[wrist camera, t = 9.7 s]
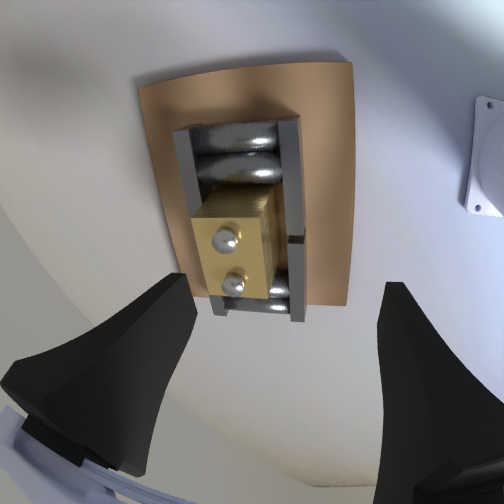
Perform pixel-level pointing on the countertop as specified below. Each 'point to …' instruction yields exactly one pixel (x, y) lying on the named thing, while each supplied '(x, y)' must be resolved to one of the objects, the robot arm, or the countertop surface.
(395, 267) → the countertop surface
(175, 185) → the chain board
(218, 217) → the brass block with studs
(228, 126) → the chain end
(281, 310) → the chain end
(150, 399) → the robot arm
